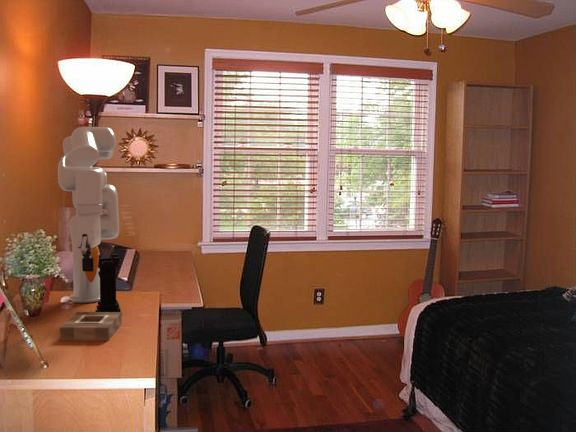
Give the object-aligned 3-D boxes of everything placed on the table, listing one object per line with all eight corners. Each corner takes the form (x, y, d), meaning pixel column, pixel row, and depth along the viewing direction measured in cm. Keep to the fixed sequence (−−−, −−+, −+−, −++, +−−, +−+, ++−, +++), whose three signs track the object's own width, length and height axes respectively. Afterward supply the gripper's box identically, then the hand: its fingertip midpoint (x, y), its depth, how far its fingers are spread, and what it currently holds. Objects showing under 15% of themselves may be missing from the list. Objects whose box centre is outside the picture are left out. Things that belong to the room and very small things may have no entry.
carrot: (94, 285, 183) (93, 236, 181) (79, 284, 184) (77, 235, 182) (102, 281, 188) (101, 233, 185) (88, 279, 189) (86, 232, 186)
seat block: (77, 324, 195) (77, 311, 195) (121, 324, 196) (121, 311, 195) (60, 340, 179) (60, 326, 179) (108, 340, 180) (108, 326, 179)
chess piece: (121, 316, 204) (120, 257, 202) (97, 318, 201) (95, 259, 199) (119, 310, 212) (118, 253, 209) (95, 312, 209) (93, 254, 206)
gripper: (85, 206, 191) (86, 263, 193) (67, 213, 174) (69, 275, 177) (109, 206, 191) (110, 263, 194) (93, 213, 174) (95, 275, 177)
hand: (90, 268), depth 185 cm, fingers closed on carrot, 4 cm apart
